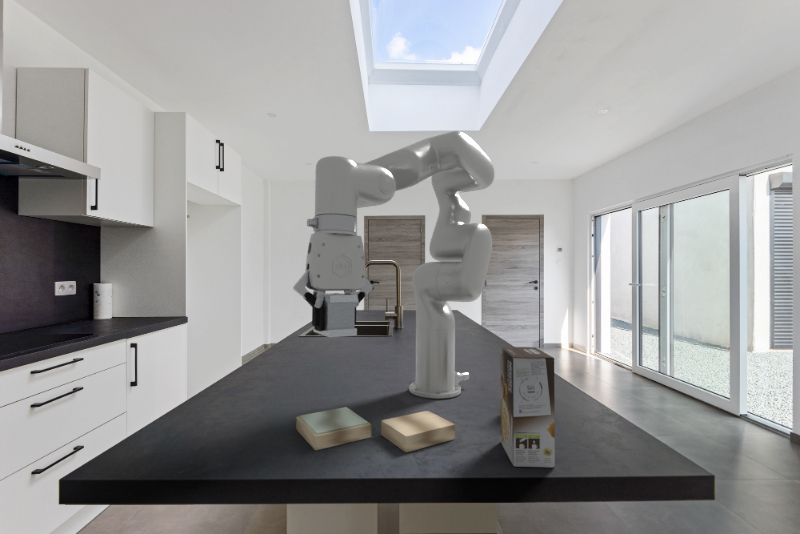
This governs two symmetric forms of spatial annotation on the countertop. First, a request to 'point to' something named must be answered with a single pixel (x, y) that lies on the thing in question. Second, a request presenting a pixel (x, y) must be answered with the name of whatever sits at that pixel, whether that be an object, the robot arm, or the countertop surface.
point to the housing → (338, 315)
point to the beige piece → (417, 430)
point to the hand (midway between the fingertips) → (334, 328)
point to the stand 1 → (332, 428)
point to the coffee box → (527, 406)
